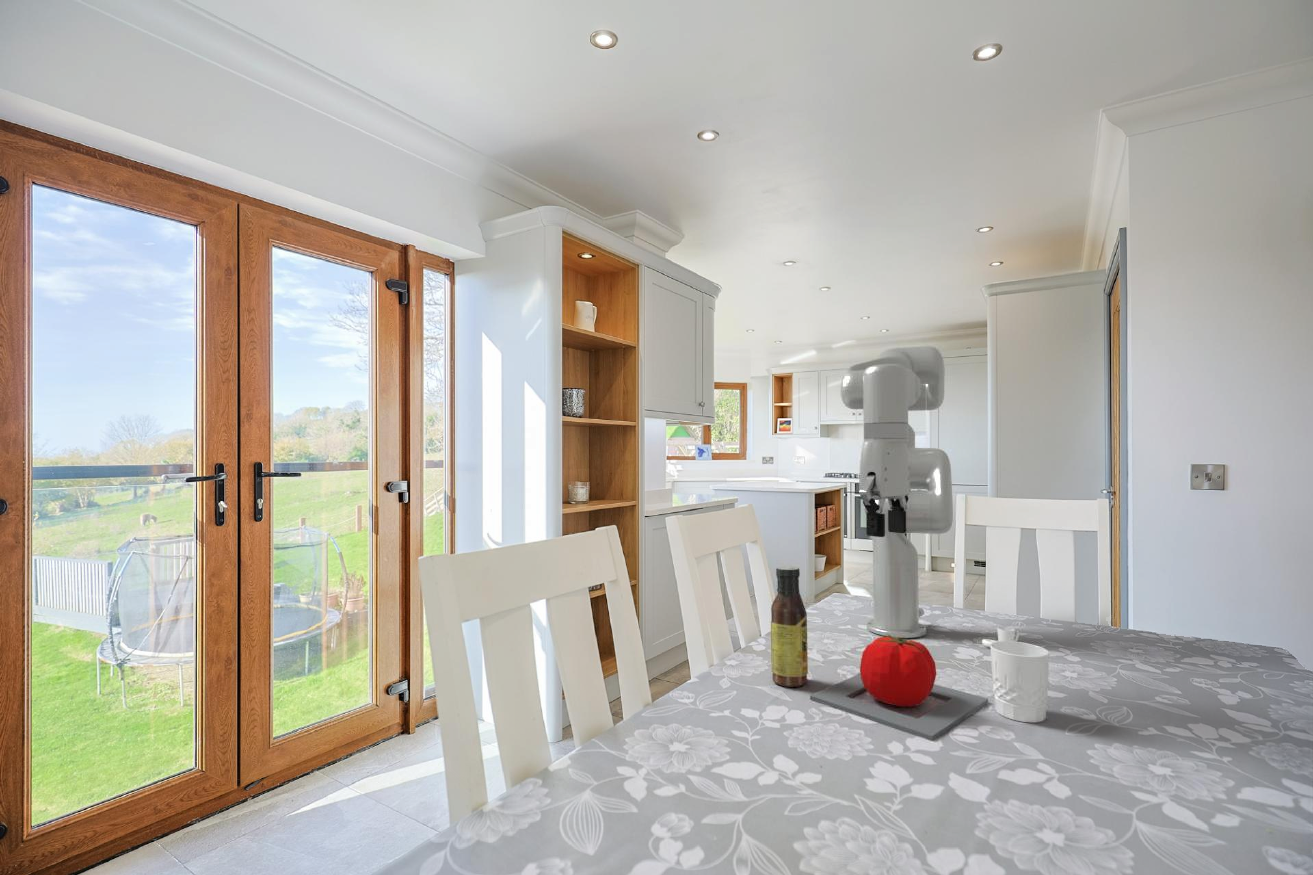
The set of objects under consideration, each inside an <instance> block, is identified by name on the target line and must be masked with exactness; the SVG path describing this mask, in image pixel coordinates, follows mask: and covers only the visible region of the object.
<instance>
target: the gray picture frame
mask: <svg viewBox="0 0 1313 875" xmlns="http://www.w3.org/2000/svg"><path fill="white" fill-rule="evenodd" d="M865 691H867V690H866V689H865V687H864V685H863V682H862V680H861V674H860V673H858V674H856V675H853V676H851V677H849V678H846V679H844V680H842V681H840V682H837V683H835V684H833V685H830V686H828V687H826V688H823V689H822V690H819V691H818V692H814V693H813V694H810V695H809V700H811V701H814V702H817V703H819V704H823V705H826V706H829V707H832V708H835V709H838V710H841V711H843V712H847V713H849V714H853V715H855V716H859V717H861V718H864V719H868V720H870V721H873V722H876V723H879V724H882V725H885V726H888V727H891V728H894V729H897V730H900V731H903V732H905V733H909V734H911V735H915V736H918V737H920V738H924V739H926V740H930V741H934V740H935V739H936V738H938V737H939V736H941V735H942V734H944V733H946V732H947V731H948V730H950V729H951V728H953V727H954V726H955V725H957V724H958V723H961V722H962V721H963V720H964V719H966V718H967V717H969V716H970V715H972V714H974V713H975V712H976V711H978V710H979V709H981V708H982V707H983V706H985V705H987V704H988V703H989V698H987V697H982V696H981V695H980V696H979V695H975V694H972V693H968V692H965V691H961V690H958V689H953V688H950V687H946V686H942V685H938V684H935V683H934V686H933V689H932V690H931V692H930V694H929V695H928V696H930V697H933V698H938V699H941V700H944V701H945V702H944V703H941V704H940V705H939V706H937V707H936V708H933V709H932V710H930V711H928V712H927V713H925V714H923V715H922V716H920V717H919V718H916V717H915V718H914V717H912V716H909V715H905V714H903V713H899V712H896V711H894V710H893V711H892V710H889V709H886V708H884V707H880V706H878V705H875V704H872V703H868V702H865V701H861V700H858V699H855V698H853V697H855V696H856V695H858V694H861V693H863V692H865Z"/></svg>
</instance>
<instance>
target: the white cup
mask: <svg viewBox="0 0 1313 875" xmlns="http://www.w3.org/2000/svg"><path fill="white" fill-rule="evenodd" d="M989 649H990V662H991V663H990V664H991V677H992V689H993V690H992V691H993V693H994V709H995V711H996V713H997V714H999V715H1001V716H1002V717H1005V718H1007V719H1010V720H1013V721H1017V722H1022V723H1032V724H1033V723H1035V724H1036V723H1042V722H1044V721H1045V719H1046V718H1047V701H1048V689H1049V676H1050V674H1049V672H1050V671H1049V669H1050V668H1049V667H1050V651H1049V650H1048V649H1047V648H1044V647H1042V646H1039V645H1036V644H1031V643H1028V642H1023V641H1022V642H1020V641H1016V642H1015V641H998V642H993V643H991V645H990V648H989Z"/></svg>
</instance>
